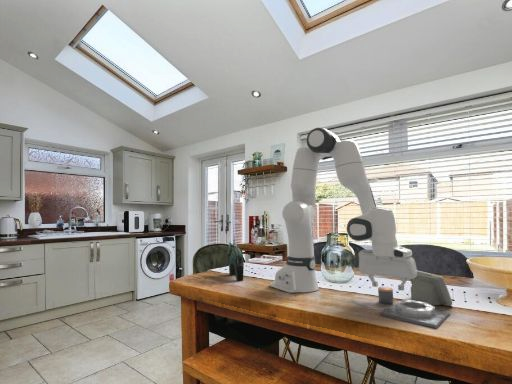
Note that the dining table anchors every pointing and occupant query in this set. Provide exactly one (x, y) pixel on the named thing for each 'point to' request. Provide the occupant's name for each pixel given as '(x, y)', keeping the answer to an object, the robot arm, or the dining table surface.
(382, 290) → the dark grey cylinder
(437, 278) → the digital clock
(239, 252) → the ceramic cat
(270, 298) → the dining table surface
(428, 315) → the flat square base plate
